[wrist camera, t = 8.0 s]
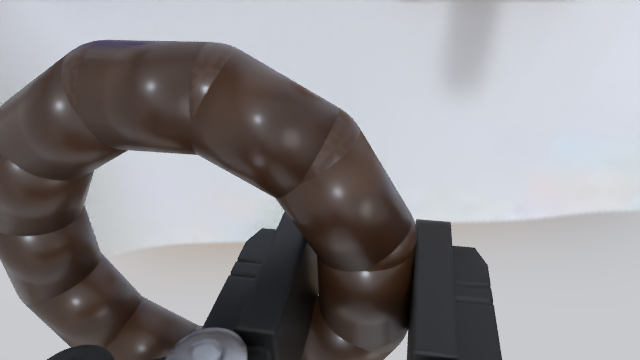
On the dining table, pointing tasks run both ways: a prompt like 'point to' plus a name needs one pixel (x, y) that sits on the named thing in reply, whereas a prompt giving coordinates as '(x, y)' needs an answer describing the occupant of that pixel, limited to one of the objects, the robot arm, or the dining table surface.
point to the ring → (224, 151)
